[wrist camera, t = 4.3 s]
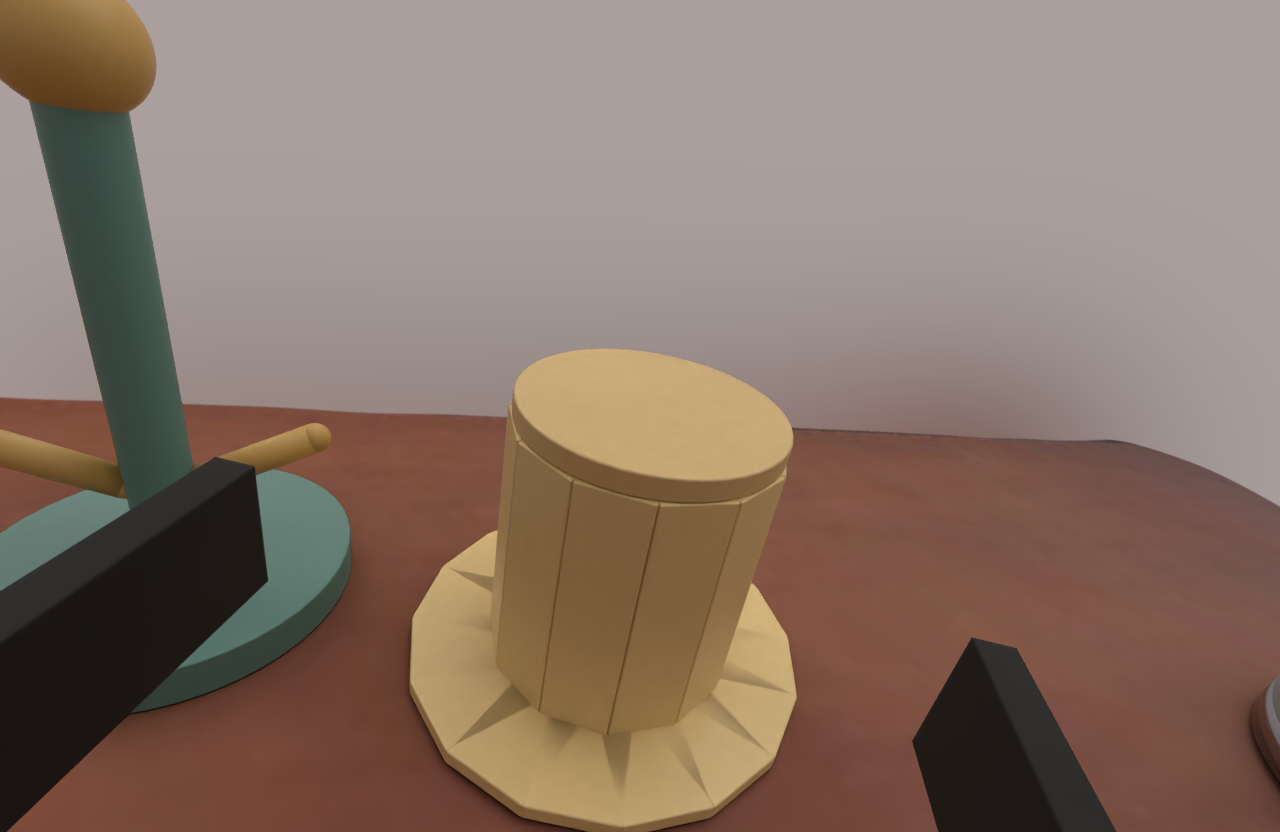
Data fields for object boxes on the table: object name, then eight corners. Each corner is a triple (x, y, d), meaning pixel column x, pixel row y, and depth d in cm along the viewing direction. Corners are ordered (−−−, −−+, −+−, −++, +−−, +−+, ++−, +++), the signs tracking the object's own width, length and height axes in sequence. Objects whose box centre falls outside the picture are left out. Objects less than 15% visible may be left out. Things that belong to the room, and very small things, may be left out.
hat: (705, 518, 34) (755, 333, 29) (868, 784, 21) (1003, 535, 16) (415, 530, 29) (418, 309, 24) (402, 887, 16) (401, 574, 11)
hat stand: (364, 488, 31) (348, 27, 22) (331, 691, 21) (276, -10, 12) (65, 494, 27) (-102, -67, 18) (-155, 748, 17) (-780, -241, 8)
